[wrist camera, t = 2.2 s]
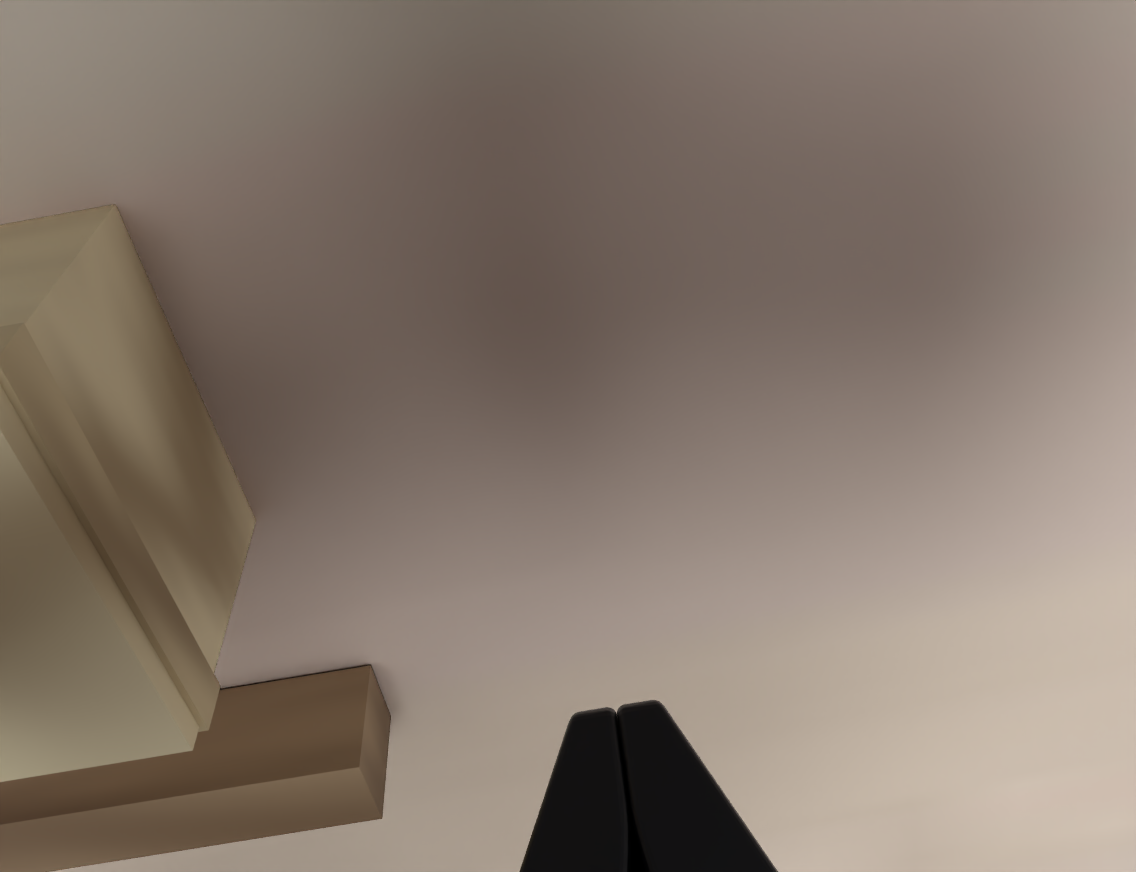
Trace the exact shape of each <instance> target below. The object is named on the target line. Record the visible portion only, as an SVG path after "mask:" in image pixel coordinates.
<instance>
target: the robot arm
mask: <svg viewBox="0 0 1136 872" xmlns="http://www.w3.org/2000/svg"><path fill="white" fill-rule="evenodd" d="M520 872H778V871H777V870H776V868H775V867H774V865H773V864H772V862H771V861H770V859H769V858H768V856H767V855H766V854H765V852H764V851H763V849H762V848H761V846H760V845H759V843H758V842H757V840H756V839H755V838H754V836H753V835H752V833H751V832H750V830H749V829H748V827H747V826H746V825H745V823H744V822H743V820H742V819H741V817H740V816H739V814H738V813H737V811H736V810H735V809H734V807H733V806H732V804H731V803H730V801H729V800H728V798H727V797H726V795H725V794H724V793H723V791H722V790H721V788H720V787H719V785H718V784H717V782H716V781H715V779H714V778H713V777H712V775H711V774H710V772H709V771H708V769H707V768H706V766H705V765H704V763H703V762H702V761H701V759H700V758H699V756H698V755H697V753H696V752H695V750H694V749H693V747H692V746H691V745H690V743H689V742H688V740H687V739H686V737H685V736H684V734H683V733H682V731H681V730H680V729H679V727H678V726H677V724H676V723H675V721H674V720H673V718H672V717H671V715H670V714H669V713H668V711H667V710H666V708H665V707H664V706H663V705H662V704H661V703H660V702H659V701H656V700H649V701H643V702H637V703H631V704H624V705H622V706H621V707H620V708H618V711H617V714H616V712H615V710H614V709H612V708H608V707H606V708H600V709H594V710H587V711H581V712H577V713H575V714H574V715H573V716H572V717H571V719H570V721H569V723H568V726H567V729H566V732H565V735H564V738H563V741H562V744H561V747H560V750H559V753H558V756H557V759H556V762H555V765H554V769H553V772H552V775H551V778H550V781H549V784H548V787H547V790H546V793H545V796H544V799H543V802H542V805H541V808H540V811H539V814H538V817H537V820H536V823H535V826H534V829H533V832H532V835H531V838H530V841H529V844H528V848H527V851H526V854H525V857H524V860H523V863H522V866H521V869H520Z"/></svg>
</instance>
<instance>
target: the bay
mask: <svg viewBox="0 0 1136 872" xmlns="http://www.w3.org/2000/svg"><path fill="white" fill-rule="evenodd" d="M390 720H391V716H390V713H389V711H388V708H387V706H386V703H385V701H384V698H383V696H382V693H381V691H380V688H379V685H378V683H377V680H376V678H375V675H374V673H373V670H372V668H371V665H370V666H364V667H358V668H352V669H346V670H340V671H333V672H327V673H321V674H315V675H309V676H303V677H297V678H291V679H284V680H278V681H272V682H266V683H260V684H254V685H248V686H242V687H235V688H229V689H223V690H219V694H218V698H217V701H216V705H215V709H214V713H213V716H212V720H211V724H210V728H209V730H207V731H201V732H198V733H197V737H196V741H195V744H194V748H193V751H187V752H181V753H175V754H169V755H163V756H157V757H151V758H145V759H138V760H132V761H126V762H120V763H114V764H108V765H102V766H96V767H90V768H84V769H77V770H71V771H65V772H59V773H53V774H47V775H41V776H35V777H29V778H22V779H16V780H10V781H4V782H0V872H50V871H56V870H62V869H69V868H75V867H81V866H87V865H94V864H100V863H106V862H112V861H119V860H125V859H131V858H138V857H144V856H150V855H156V854H163V853H169V852H175V851H182V850H188V849H194V848H200V847H207V846H213V845H219V844H225V843H232V842H238V841H244V840H251V839H257V838H263V837H269V836H276V835H282V834H288V833H294V832H301V831H307V830H313V829H320V828H326V827H332V826H338V825H345V824H351V823H357V822H363V821H370V820H376V819H382V815H383V803H384V791H385V780H386V768H387V756H388V744H389V732H390Z"/></svg>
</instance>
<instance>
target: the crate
mask: <svg viewBox="0 0 1136 872" xmlns="http://www.w3.org/2000/svg"><path fill="white" fill-rule="evenodd" d="M255 523H256V520H255V517H254V515H253V513H252V511H251V508H250V506H249V504H248V502H247V499H246V497H245V495H244V493H243V490H242V488H241V486H240V484H239V481H238V479H237V477H236V475H235V472H234V470H233V468H232V466H231V463H230V461H229V459H228V457H227V454H226V452H225V450H224V448H223V445H222V443H221V441H220V439H219V436H218V434H217V432H216V430H215V427H214V425H213V423H212V421H211V418H210V416H209V414H208V412H207V409H206V407H205V405H204V403H203V400H202V398H201V396H200V394H199V391H198V389H197V387H196V385H195V382H194V380H193V378H192V376H191V373H190V371H189V369H188V367H187V364H186V362H185V360H184V358H183V355H182V353H181V351H180V349H179V346H178V344H177V342H176V340H175V338H174V335H173V333H172V331H171V329H170V326H169V324H168V322H167V320H166V317H165V315H164V313H163V311H162V308H161V306H160V304H159V302H158V299H157V297H156V295H155V293H154V290H153V288H152V286H151V284H150V281H149V279H148V277H147V275H146V272H145V270H144V268H143V266H142V263H141V261H140V259H139V257H138V254H137V252H136V250H135V248H134V245H133V243H132V241H131V239H130V236H129V234H128V232H127V230H126V227H125V225H124V223H123V221H122V218H121V216H120V214H119V212H118V209H117V207H116V205H115V204H113V205H108V206H102V207H97V208H91V209H86V210H80V211H75V212H69V213H63V214H58V215H52V216H47V217H41V218H36V219H30V220H24V221H19V222H13V223H8V224H2V225H0V782H4V781H10V780H16V779H22V778H29V777H35V776H41V775H47V774H53V773H59V772H65V771H71V770H77V769H84V768H90V767H96V766H102V765H108V764H114V763H120V762H126V761H132V760H138V759H145V758H151V757H157V756H163V755H169V754H175V753H181V752H187V751H193V748H194V744H195V741H196V737H197V733H198V732H201V731H207V730H209V728H210V724H211V720H212V716H213V713H214V709H215V705H216V701H217V698H218V694H219V690H220V684H219V682H218V680H217V679H216V677H215V675H214V672H215V668H216V665H217V661H218V657H219V654H220V650H221V646H222V643H223V639H224V635H225V632H226V628H227V625H228V621H229V617H230V614H231V610H232V606H233V603H234V599H235V596H236V592H237V588H238V585H239V581H240V577H241V574H242V570H243V567H244V563H245V559H246V556H247V552H248V548H249V545H250V541H251V537H252V534H253V530H254V527H255Z"/></svg>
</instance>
